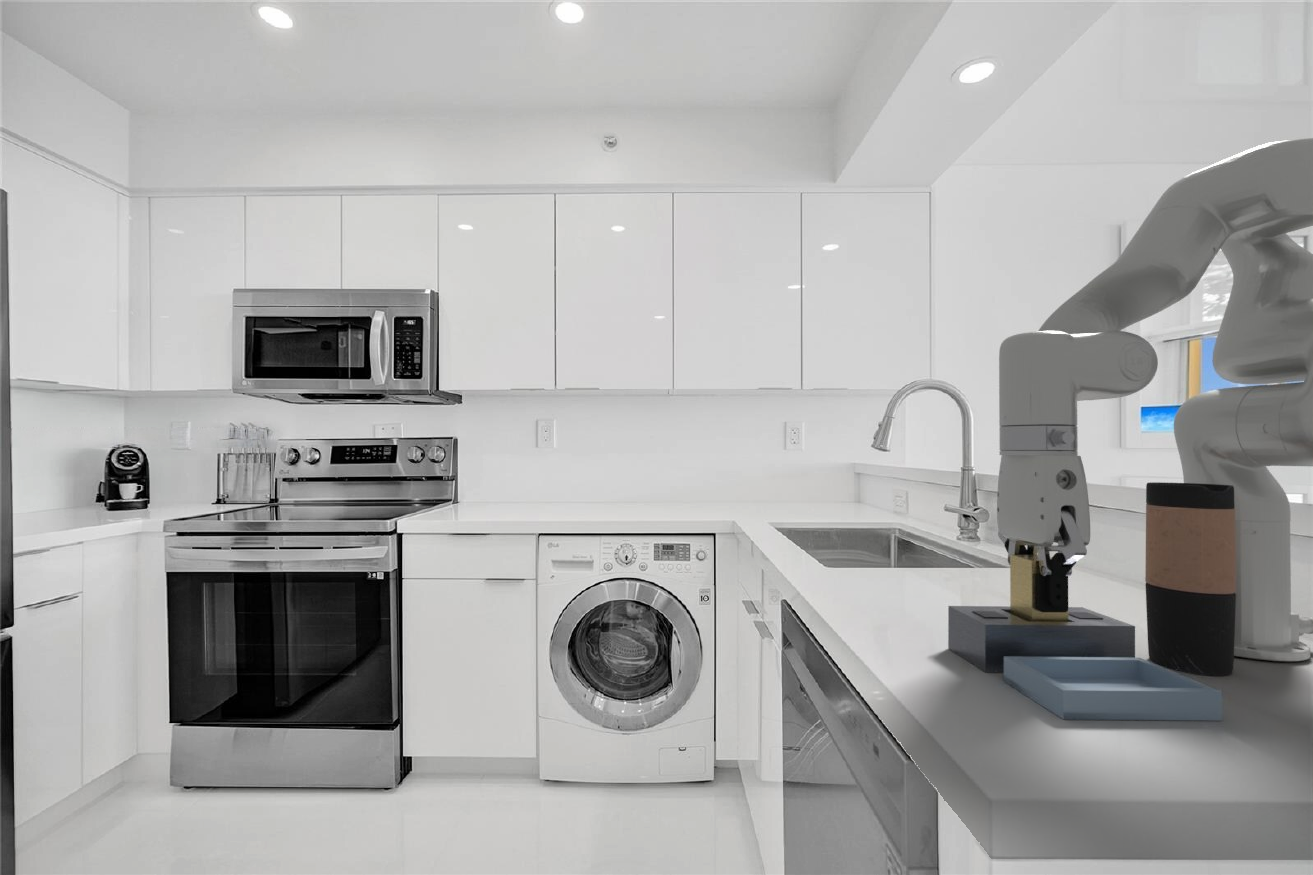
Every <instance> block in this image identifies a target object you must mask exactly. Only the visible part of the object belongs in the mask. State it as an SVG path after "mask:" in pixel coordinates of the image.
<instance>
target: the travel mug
mask: <svg viewBox="0 0 1313 875" xmlns="http://www.w3.org/2000/svg"><path fill="white" fill-rule="evenodd" d="M1145 487H1146V488H1145V493H1146V494H1145V495H1146V496H1145V500H1146V501H1145V503H1146V505H1145V578H1144V579H1145V603H1146V605H1145V606H1146V629H1147V648H1148V652H1147V653H1148V657H1149V660H1150V662H1152V663H1154V664H1156V665H1159V666H1161V667H1164V668H1166V669H1170V670H1173V671H1174V670H1175V671H1179V672H1183V673H1187V674H1193V675H1201V676H1210V677H1211V676H1212V677H1224V676H1225V677H1226V676H1231V675H1232V674H1233V672H1234V664H1235V663H1234V661H1235V660H1234V659H1235V656H1234V639H1235V611H1236V558H1235V509H1234V508H1235V506H1234V486H1232V485H1219V484H1197V483H1184V482H1157V481H1156V482H1147V483H1146V486H1145Z"/></svg>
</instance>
